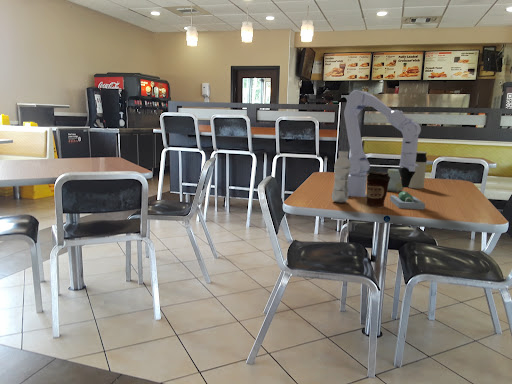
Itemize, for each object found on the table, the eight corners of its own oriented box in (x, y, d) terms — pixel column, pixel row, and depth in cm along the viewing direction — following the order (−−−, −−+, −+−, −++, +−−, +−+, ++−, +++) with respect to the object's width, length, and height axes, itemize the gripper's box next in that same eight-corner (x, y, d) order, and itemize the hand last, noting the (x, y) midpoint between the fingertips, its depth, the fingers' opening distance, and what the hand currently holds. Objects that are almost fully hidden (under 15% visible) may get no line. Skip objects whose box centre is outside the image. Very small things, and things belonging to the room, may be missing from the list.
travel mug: (426, 189, 195) (430, 152, 191) (409, 188, 195) (413, 152, 191) (419, 186, 202) (423, 151, 199) (404, 185, 202) (407, 150, 199)
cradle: (398, 208, 149) (399, 202, 149) (390, 200, 163) (390, 195, 162) (424, 210, 148) (425, 203, 148) (413, 202, 162) (414, 196, 162)
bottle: (397, 201, 161) (402, 206, 152) (398, 191, 160) (403, 195, 151) (409, 202, 160) (414, 206, 151) (409, 191, 159) (415, 195, 151)
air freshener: (393, 188, 193) (395, 168, 191) (407, 191, 186) (409, 170, 185) (377, 190, 188) (379, 169, 186) (391, 193, 181) (393, 171, 179)
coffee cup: (383, 210, 146) (387, 175, 143) (361, 206, 150) (364, 172, 148) (389, 206, 153) (393, 172, 151) (368, 202, 157) (371, 170, 155)
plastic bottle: (348, 201, 158) (353, 151, 155) (346, 204, 152) (351, 152, 148) (332, 199, 161) (336, 150, 157) (330, 203, 154) (334, 151, 150)
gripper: (425, 155, 149) (420, 190, 152) (413, 152, 163) (410, 184, 166) (405, 154, 150) (401, 189, 152) (396, 151, 164) (392, 183, 167)
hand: (405, 187), depth 159 cm, fingers closed
